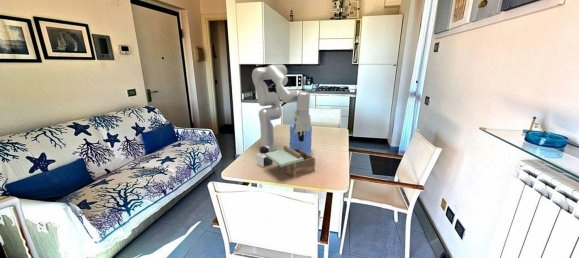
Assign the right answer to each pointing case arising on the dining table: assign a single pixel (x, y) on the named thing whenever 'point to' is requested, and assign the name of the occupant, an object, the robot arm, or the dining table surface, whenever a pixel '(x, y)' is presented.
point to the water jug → (297, 144)
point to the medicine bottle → (263, 157)
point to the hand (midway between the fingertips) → (301, 140)
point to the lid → (284, 156)
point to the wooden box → (300, 165)
